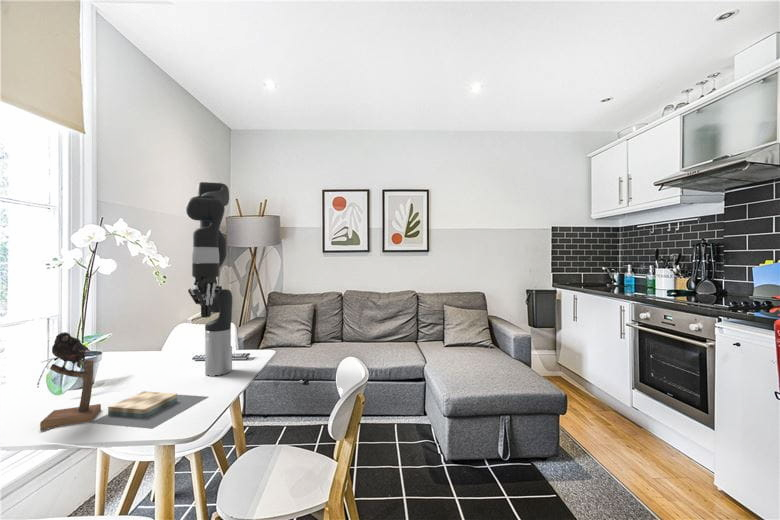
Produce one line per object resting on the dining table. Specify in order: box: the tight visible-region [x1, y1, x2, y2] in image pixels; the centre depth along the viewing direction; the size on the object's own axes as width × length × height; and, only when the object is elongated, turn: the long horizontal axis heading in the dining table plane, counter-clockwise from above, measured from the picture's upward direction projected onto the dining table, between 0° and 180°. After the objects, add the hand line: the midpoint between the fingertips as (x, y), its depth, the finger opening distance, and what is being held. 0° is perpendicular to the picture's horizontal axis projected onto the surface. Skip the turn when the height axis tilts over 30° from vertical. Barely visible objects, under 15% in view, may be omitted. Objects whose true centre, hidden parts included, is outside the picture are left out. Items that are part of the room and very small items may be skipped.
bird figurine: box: [39, 332, 102, 431], centre depth 101 cm, size 11×14×25 cm
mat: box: [89, 394, 209, 429], centre depth 105 cm, size 22×20×1 cm
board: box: [107, 391, 178, 418], centre depth 106 cm, size 12×2×12 cm
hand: (206, 317), depth 110 cm, fingers closed
